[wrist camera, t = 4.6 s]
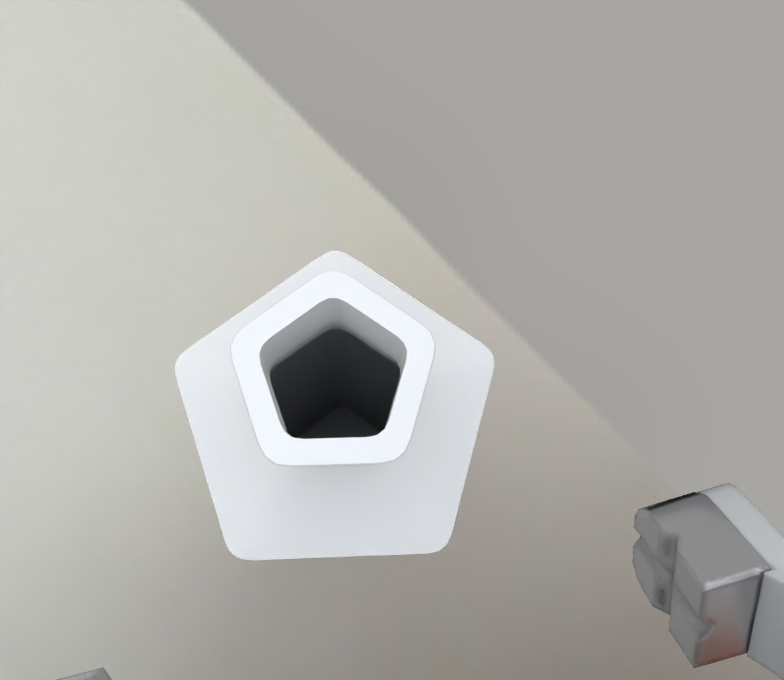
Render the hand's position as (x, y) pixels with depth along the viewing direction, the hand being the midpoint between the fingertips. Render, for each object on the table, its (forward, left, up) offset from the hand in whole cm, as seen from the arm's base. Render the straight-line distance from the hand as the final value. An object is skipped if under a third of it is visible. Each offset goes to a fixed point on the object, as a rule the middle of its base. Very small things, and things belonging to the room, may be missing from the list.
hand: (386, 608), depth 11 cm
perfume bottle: (0, -3, -11) cm, 11 cm away
